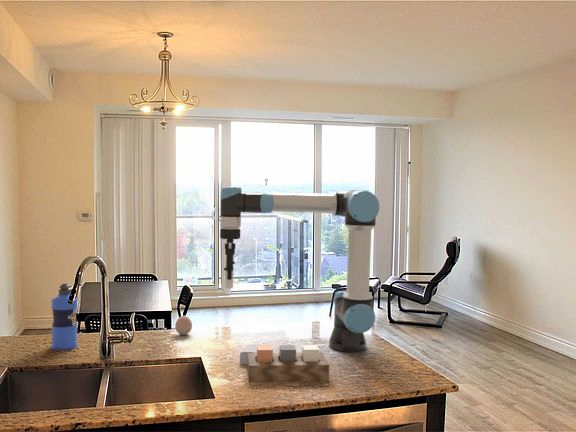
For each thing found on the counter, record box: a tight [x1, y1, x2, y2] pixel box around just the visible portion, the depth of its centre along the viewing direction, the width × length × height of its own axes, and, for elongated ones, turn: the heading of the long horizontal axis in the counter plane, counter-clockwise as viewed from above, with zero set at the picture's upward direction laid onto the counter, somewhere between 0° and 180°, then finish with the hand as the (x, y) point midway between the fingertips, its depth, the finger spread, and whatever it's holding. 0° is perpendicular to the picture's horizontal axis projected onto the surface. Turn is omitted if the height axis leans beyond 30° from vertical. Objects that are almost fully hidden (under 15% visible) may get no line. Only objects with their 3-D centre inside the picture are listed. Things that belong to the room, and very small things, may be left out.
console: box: [247, 352, 330, 383], centre depth 180 cm, size 27×13×6 cm, turn 96°
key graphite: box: [278, 344, 297, 362], centre depth 179 cm, size 5×5×6 cm
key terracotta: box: [256, 344, 274, 362], centre depth 179 cm, size 5×5×6 cm
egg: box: [174, 315, 193, 336], centre depth 224 cm, size 7×7×8 cm
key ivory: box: [301, 344, 320, 362], centre depth 180 cm, size 5×5×6 cm
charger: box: [239, 344, 257, 365], centre depth 196 cm, size 5×9×15 cm
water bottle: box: [51, 283, 79, 352], centre depth 202 cm, size 9×9×25 cm
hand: (229, 284), depth 194 cm, fingers open, 13 cm apart
